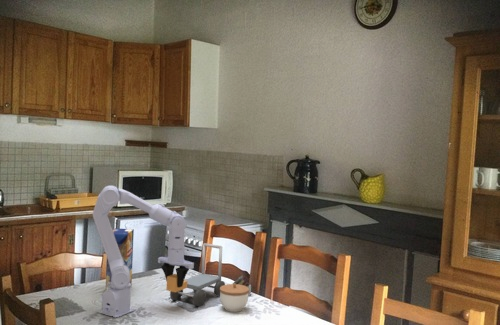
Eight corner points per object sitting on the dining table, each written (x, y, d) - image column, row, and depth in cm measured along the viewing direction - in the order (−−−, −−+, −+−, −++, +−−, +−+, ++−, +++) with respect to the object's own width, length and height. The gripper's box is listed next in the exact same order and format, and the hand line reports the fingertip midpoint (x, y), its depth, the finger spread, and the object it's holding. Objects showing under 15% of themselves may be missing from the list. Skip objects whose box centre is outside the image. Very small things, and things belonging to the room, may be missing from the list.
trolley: (195, 308, 172) (198, 254, 171) (169, 301, 178) (172, 250, 177) (224, 294, 189) (227, 246, 189) (200, 288, 195) (202, 241, 195)
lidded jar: (244, 315, 167) (245, 289, 166) (215, 312, 169) (216, 286, 168) (250, 306, 177) (251, 281, 177) (223, 302, 179) (224, 278, 179)
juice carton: (124, 296, 181) (127, 234, 180) (105, 295, 181) (107, 233, 180) (131, 287, 193) (133, 229, 192) (113, 286, 193) (115, 228, 192)
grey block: (234, 302, 182) (253, 278, 187) (221, 293, 186) (240, 270, 191) (240, 313, 189) (258, 289, 194) (227, 304, 193) (245, 281, 198)
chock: (175, 292, 167) (176, 278, 167) (166, 290, 169) (167, 276, 169) (187, 287, 173) (187, 274, 173) (178, 285, 175) (178, 272, 175)
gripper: (199, 248, 169) (197, 286, 170) (167, 243, 176) (165, 279, 177) (187, 252, 163) (186, 291, 164) (154, 246, 170) (153, 284, 171)
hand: (174, 285), depth 170 cm, fingers closed on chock, 4 cm apart
